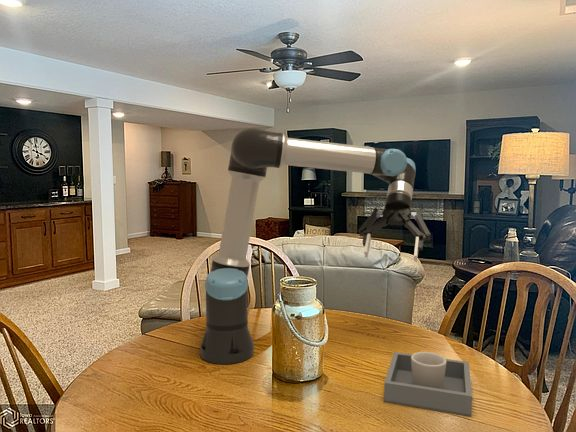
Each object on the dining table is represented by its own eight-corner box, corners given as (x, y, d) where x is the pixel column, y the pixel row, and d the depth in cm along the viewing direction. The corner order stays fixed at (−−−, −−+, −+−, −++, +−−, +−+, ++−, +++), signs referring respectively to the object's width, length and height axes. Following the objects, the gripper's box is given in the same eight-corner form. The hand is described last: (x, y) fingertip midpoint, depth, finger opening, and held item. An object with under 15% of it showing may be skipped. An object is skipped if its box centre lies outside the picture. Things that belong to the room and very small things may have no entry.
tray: (383, 401, 103) (384, 382, 103) (393, 368, 121) (393, 351, 120) (471, 416, 97) (472, 396, 97) (468, 379, 114) (468, 361, 114)
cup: (404, 377, 115) (405, 346, 114) (436, 378, 114) (438, 347, 113) (414, 398, 104) (415, 365, 103) (449, 399, 103) (450, 366, 103)
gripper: (441, 209, 138) (437, 268, 125) (359, 205, 146) (348, 260, 134) (442, 192, 132) (437, 252, 120) (357, 189, 141) (344, 245, 128)
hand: (390, 256), depth 127 cm, fingers open, 13 cm apart
